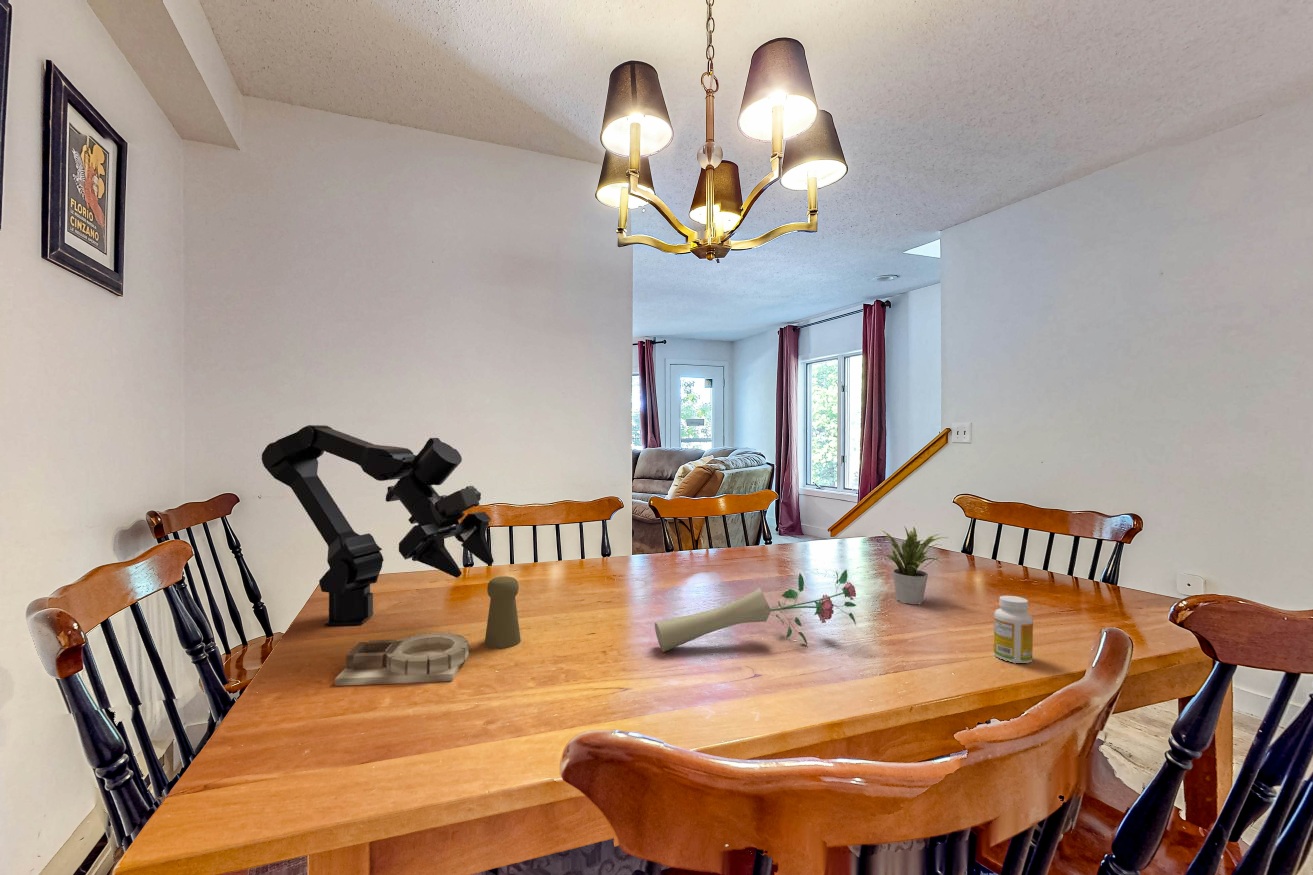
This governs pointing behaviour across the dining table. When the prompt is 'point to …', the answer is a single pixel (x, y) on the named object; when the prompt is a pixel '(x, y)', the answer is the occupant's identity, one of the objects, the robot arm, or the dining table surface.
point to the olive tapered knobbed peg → (502, 613)
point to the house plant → (910, 567)
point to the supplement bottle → (1013, 630)
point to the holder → (405, 660)
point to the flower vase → (743, 615)
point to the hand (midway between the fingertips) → (476, 569)
